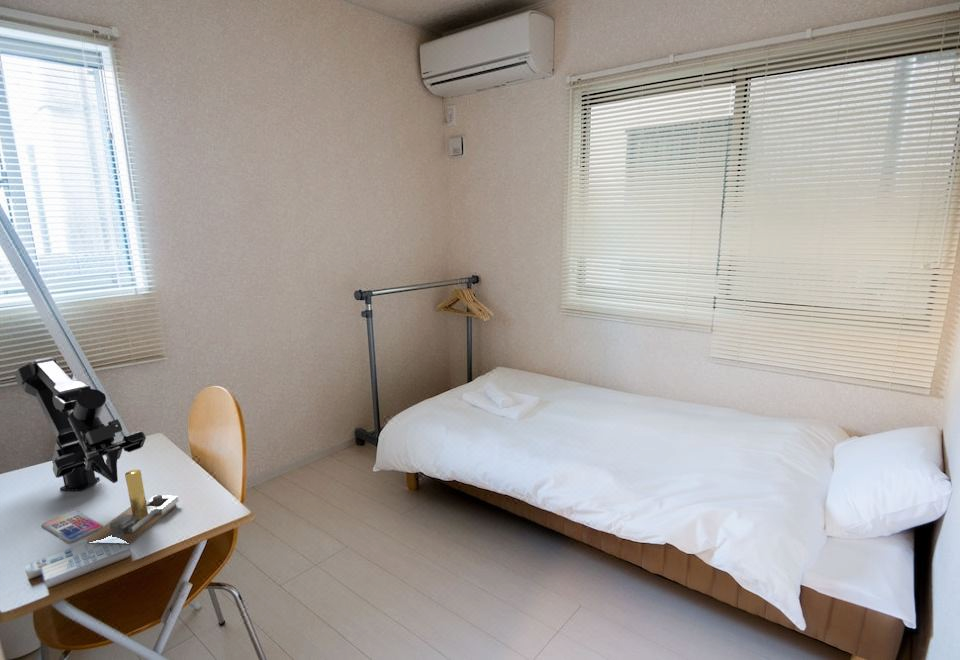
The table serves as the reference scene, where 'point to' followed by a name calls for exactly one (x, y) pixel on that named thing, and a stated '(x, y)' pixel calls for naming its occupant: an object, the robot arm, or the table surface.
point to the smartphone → (72, 526)
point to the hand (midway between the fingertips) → (115, 481)
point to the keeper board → (127, 535)
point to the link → (143, 502)
